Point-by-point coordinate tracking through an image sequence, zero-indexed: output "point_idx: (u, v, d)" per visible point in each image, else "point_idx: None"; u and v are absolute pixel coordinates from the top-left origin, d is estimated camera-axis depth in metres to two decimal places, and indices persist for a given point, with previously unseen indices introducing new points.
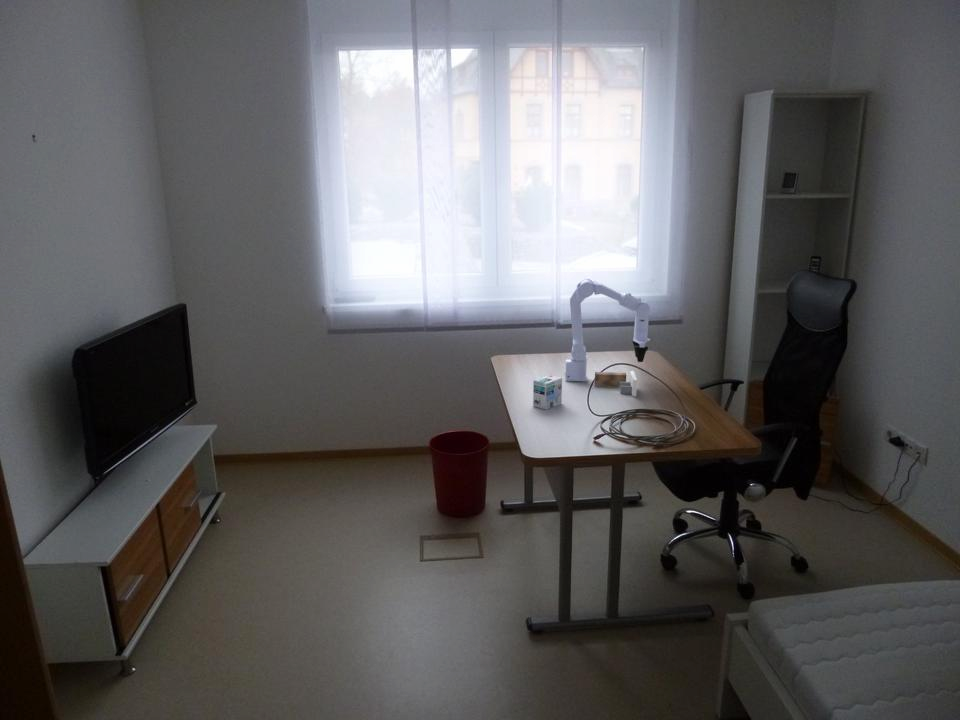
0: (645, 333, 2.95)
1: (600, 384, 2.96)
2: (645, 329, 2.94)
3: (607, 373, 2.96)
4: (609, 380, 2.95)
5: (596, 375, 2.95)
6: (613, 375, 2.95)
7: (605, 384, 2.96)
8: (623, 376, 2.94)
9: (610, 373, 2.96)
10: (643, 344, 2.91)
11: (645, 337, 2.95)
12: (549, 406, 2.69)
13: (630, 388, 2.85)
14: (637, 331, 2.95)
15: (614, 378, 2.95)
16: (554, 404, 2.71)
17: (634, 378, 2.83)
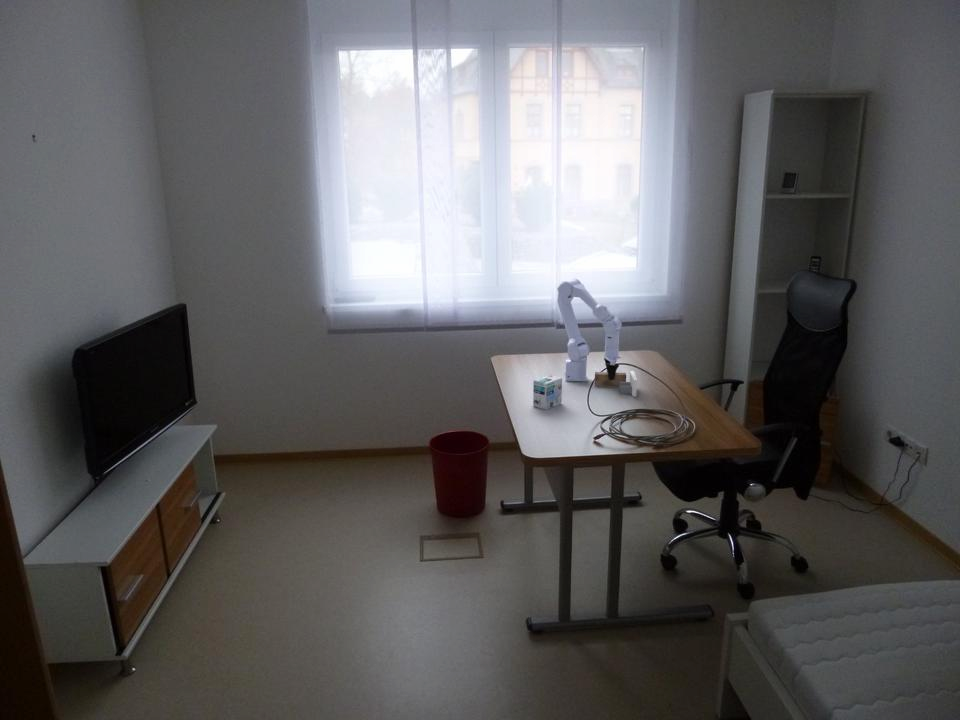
0: (616, 350, 2.91)
1: (600, 384, 2.96)
2: (613, 347, 2.90)
3: (607, 373, 2.96)
4: (609, 380, 2.95)
5: (596, 375, 2.95)
6: None
7: (605, 384, 2.96)
8: (623, 376, 2.94)
9: None
10: (613, 362, 2.87)
11: (616, 354, 2.91)
12: (549, 406, 2.69)
13: (630, 388, 2.85)
14: (608, 348, 2.91)
15: None
16: (554, 404, 2.71)
17: (634, 378, 2.83)
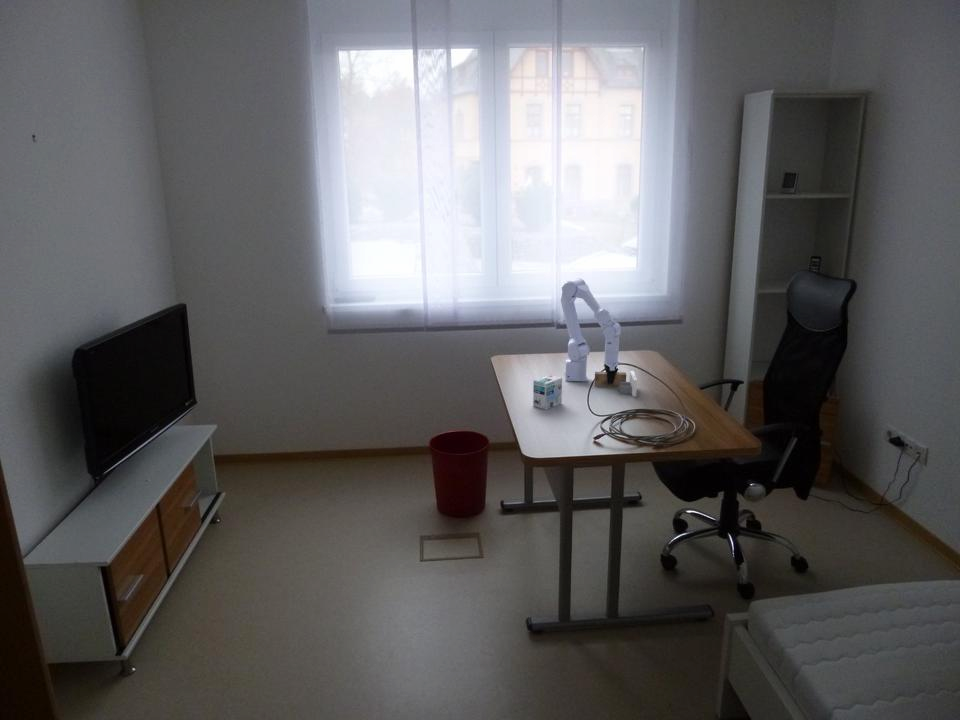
0: (615, 356, 2.92)
1: (600, 384, 2.96)
2: (612, 352, 2.91)
3: None
4: None
5: (596, 375, 2.95)
6: None
7: (605, 384, 2.96)
8: (623, 376, 2.94)
9: None
10: (613, 367, 2.88)
11: (615, 360, 2.92)
12: (549, 406, 2.69)
13: (630, 388, 2.85)
14: (607, 354, 2.92)
15: None
16: (554, 404, 2.71)
17: (634, 378, 2.83)
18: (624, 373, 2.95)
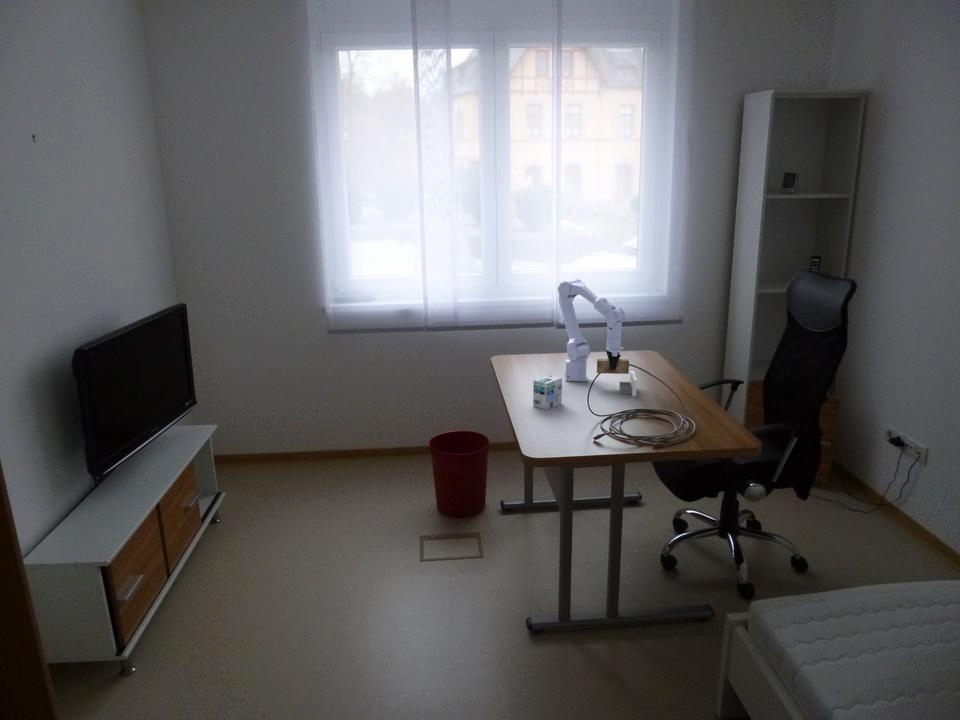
0: (618, 341, 2.86)
1: (602, 371, 2.91)
2: (614, 338, 2.85)
3: None
4: None
5: (598, 362, 2.90)
6: None
7: (607, 371, 2.91)
8: (626, 362, 2.89)
9: None
10: (616, 353, 2.83)
11: (618, 346, 2.87)
12: (549, 406, 2.69)
13: (630, 388, 2.85)
14: (610, 339, 2.86)
15: (617, 364, 2.90)
16: (554, 404, 2.71)
17: (634, 378, 2.83)
18: (627, 360, 2.90)
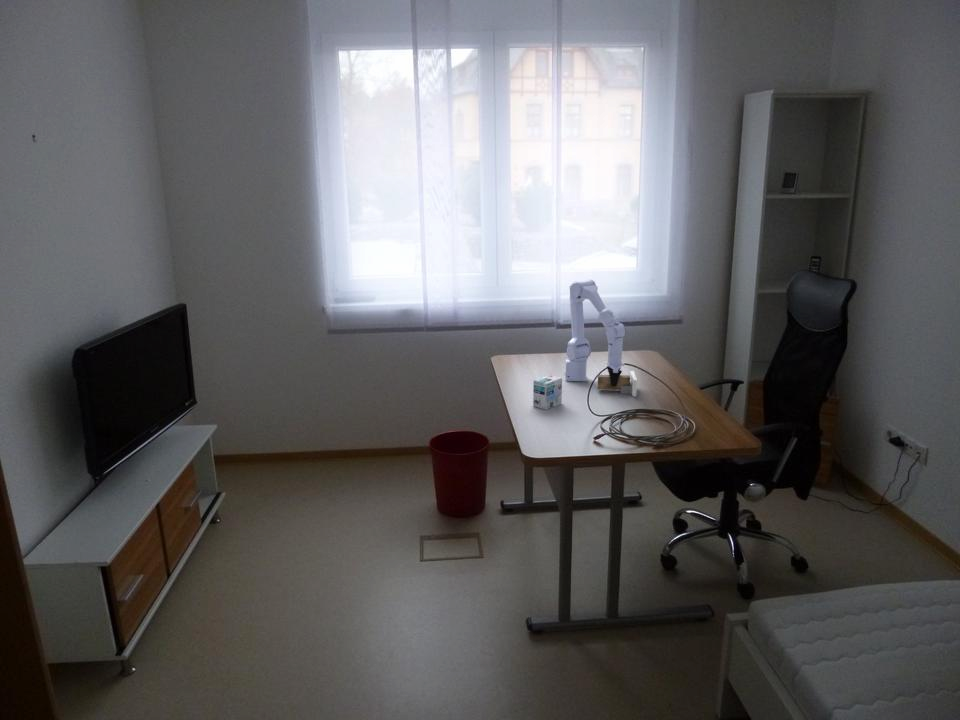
0: (619, 358, 2.83)
1: (603, 387, 2.88)
2: (614, 354, 2.83)
3: None
4: None
5: (599, 378, 2.87)
6: None
7: (608, 387, 2.88)
8: (627, 379, 2.86)
9: None
10: (616, 369, 2.80)
11: (619, 362, 2.84)
12: (549, 406, 2.69)
13: (630, 388, 2.85)
14: (611, 355, 2.84)
15: (618, 380, 2.87)
16: (554, 404, 2.71)
17: (634, 378, 2.83)
18: (628, 376, 2.87)
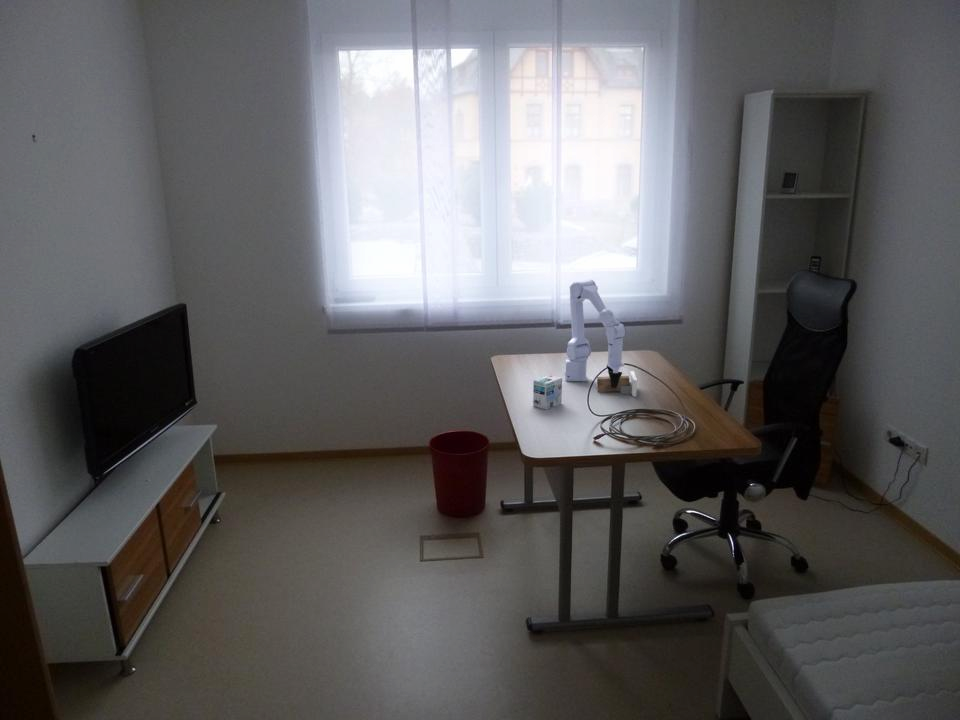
0: (619, 358, 2.83)
1: (603, 389, 2.88)
2: (614, 354, 2.83)
3: (609, 378, 2.88)
4: None
5: (598, 380, 2.88)
6: None
7: (608, 389, 2.88)
8: (626, 379, 2.86)
9: None
10: (616, 370, 2.80)
11: (619, 362, 2.84)
12: (549, 406, 2.69)
13: (630, 388, 2.85)
14: (611, 356, 2.84)
15: None
16: (554, 404, 2.71)
17: (634, 378, 2.83)
18: (627, 377, 2.88)
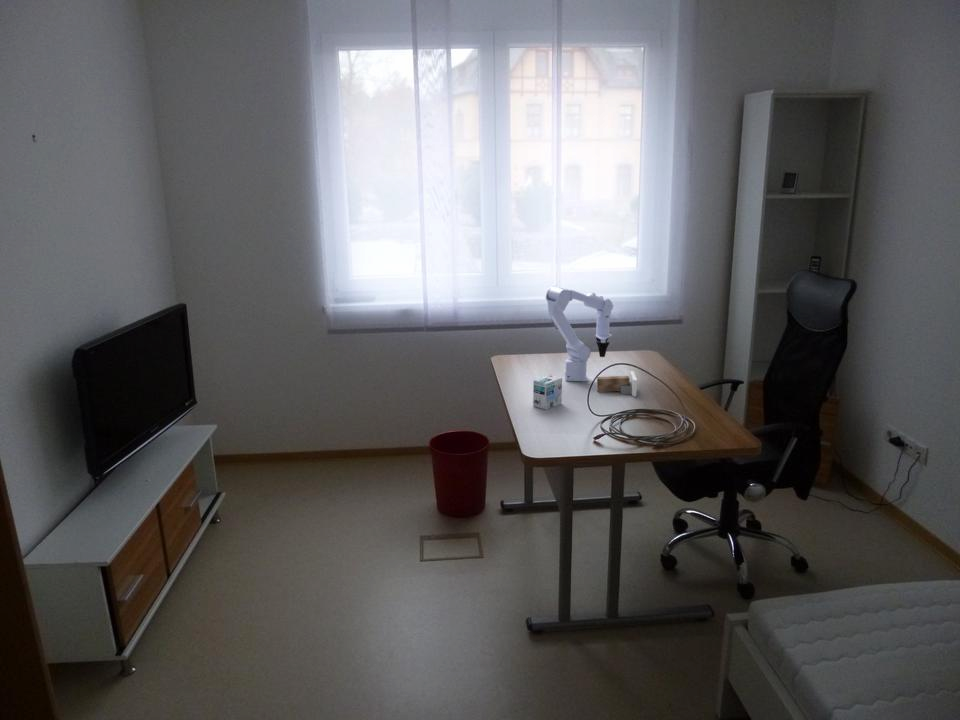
0: (606, 329, 3.04)
1: (603, 389, 2.88)
2: (609, 324, 3.05)
3: (609, 378, 2.88)
4: (612, 384, 2.87)
5: (598, 380, 2.88)
6: (616, 379, 2.87)
7: (608, 389, 2.88)
8: (626, 379, 2.86)
9: (612, 377, 2.88)
10: (604, 340, 3.01)
11: (607, 333, 3.05)
12: (549, 406, 2.69)
13: (630, 388, 2.85)
14: (599, 327, 3.05)
15: (617, 381, 2.87)
16: (554, 404, 2.71)
17: (634, 378, 2.83)
18: (627, 377, 2.88)
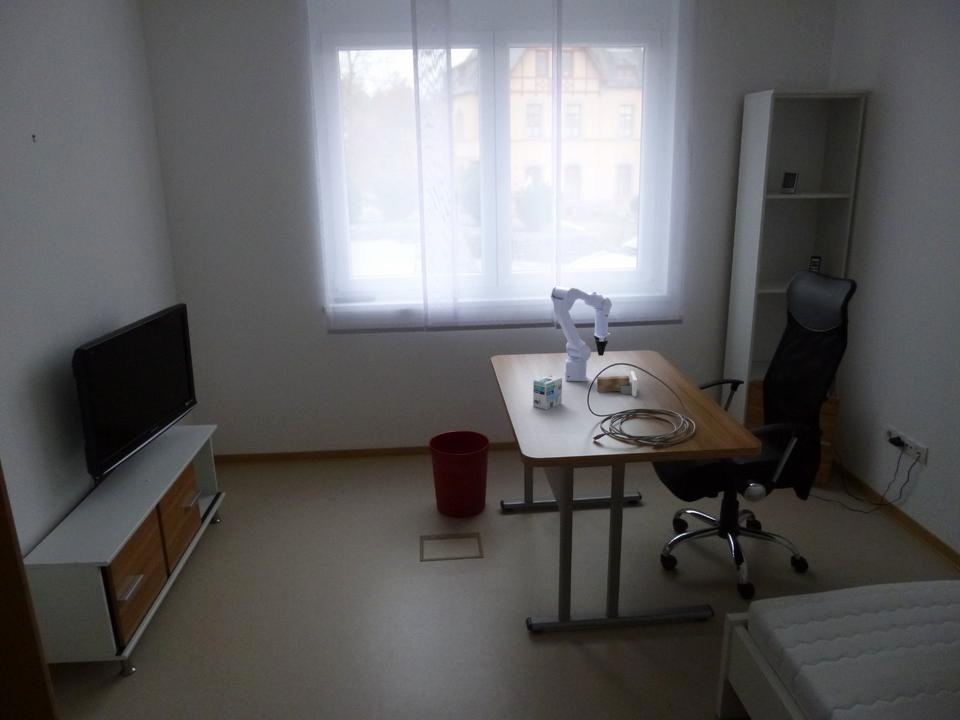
0: (605, 328, 3.07)
1: (603, 389, 2.88)
2: (607, 323, 3.08)
3: (609, 378, 2.88)
4: (612, 384, 2.87)
5: (598, 380, 2.88)
6: (616, 379, 2.87)
7: (608, 389, 2.88)
8: (626, 379, 2.86)
9: (612, 377, 2.88)
10: (603, 338, 3.03)
11: (605, 331, 3.08)
12: (549, 406, 2.69)
13: (630, 388, 2.85)
14: (597, 326, 3.07)
15: (617, 381, 2.87)
16: (554, 404, 2.71)
17: (634, 378, 2.83)
18: (627, 377, 2.88)
